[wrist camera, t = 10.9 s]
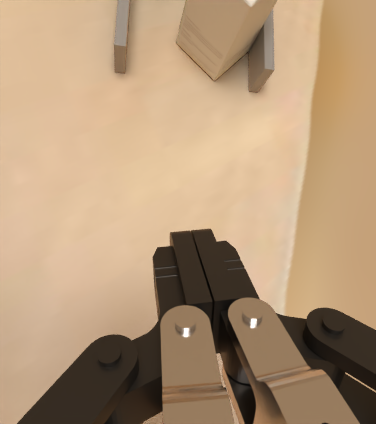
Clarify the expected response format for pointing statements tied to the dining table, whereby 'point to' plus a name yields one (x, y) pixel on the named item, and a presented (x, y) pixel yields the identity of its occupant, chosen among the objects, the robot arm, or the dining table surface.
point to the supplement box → (221, 31)
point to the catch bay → (258, 53)
